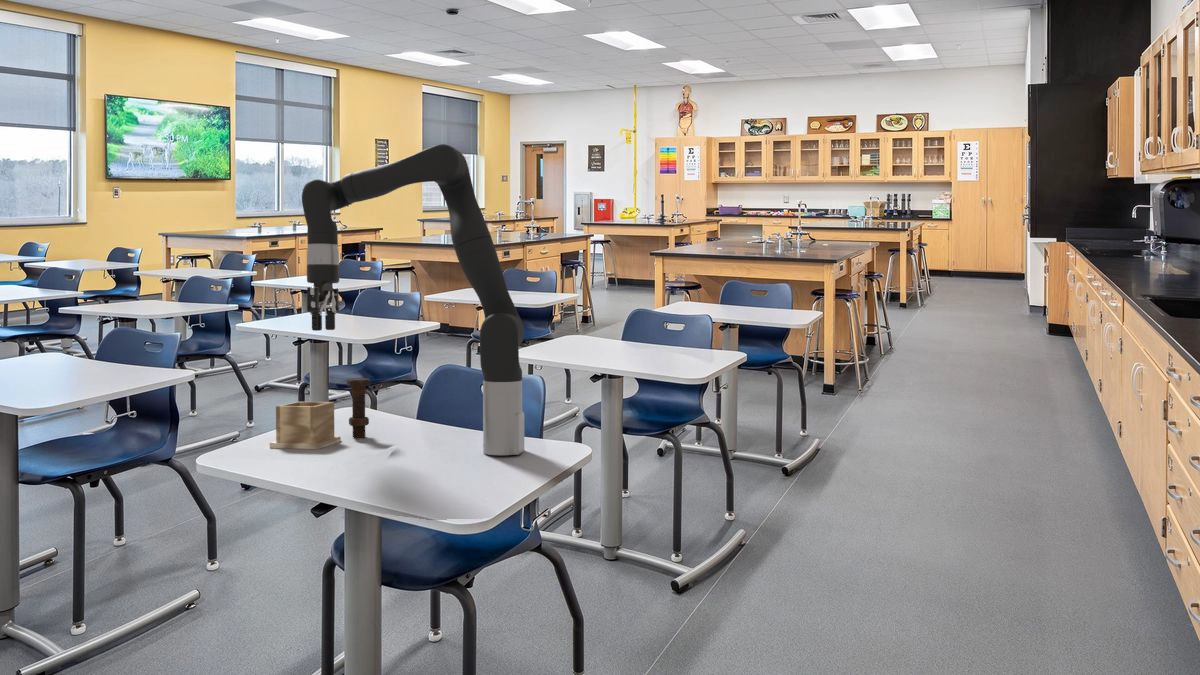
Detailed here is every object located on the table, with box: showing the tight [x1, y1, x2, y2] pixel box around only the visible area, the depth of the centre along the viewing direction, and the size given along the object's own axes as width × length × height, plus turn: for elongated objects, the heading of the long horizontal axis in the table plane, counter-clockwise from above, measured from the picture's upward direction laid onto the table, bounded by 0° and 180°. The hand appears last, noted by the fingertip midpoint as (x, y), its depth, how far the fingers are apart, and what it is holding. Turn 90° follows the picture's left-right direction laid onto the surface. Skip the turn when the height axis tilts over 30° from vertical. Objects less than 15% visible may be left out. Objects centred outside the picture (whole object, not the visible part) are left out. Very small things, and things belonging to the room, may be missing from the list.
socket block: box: [269, 401, 342, 450], centre depth 207 cm, size 12×12×10 cm
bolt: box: [346, 378, 371, 439], centre depth 216 cm, size 6×5×15 cm
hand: (323, 330), depth 211 cm, fingers open, 8 cm apart
